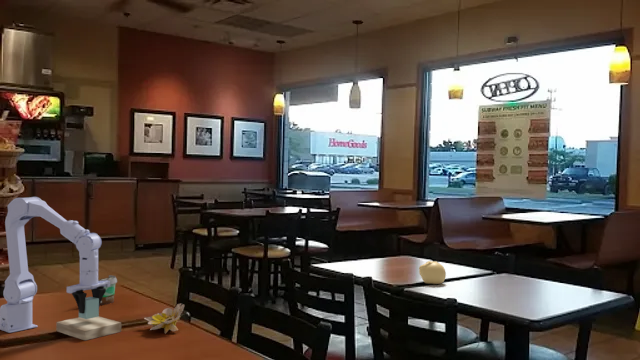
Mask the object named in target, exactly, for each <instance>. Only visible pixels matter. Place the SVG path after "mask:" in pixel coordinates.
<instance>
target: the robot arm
mask: <svg viewBox="0 0 640 360" xmlns="http://www.w3.org/2000/svg"><path fill="white" fill-rule="evenodd" d="M35 217H41V219H44V220H45V221H46V222H48V223H50V224H52V225H54V226H55V227H57V228H58V229H59V232H60V235H62V236H63V237H64V238H65V239H67V240H68V241H70V242H72V243H73V244H74V245H75V248H76V250H77V251H78V252H79V254H78V256H79V283H77V284H72V285H70V286H68V285H67V286H66V293H67V294H71V295H72V296H73V298H74V300H75V302H76V305H77V307H78V314H79V313H82V314H83V313H84V312H85V299H86V298H87V293H86V292H85V291H88V290H89V291H90V290H91V295H92V296H91V297H95V298H99V307H100V306H101V305H100V303H101V300H102V297H103V295H104V294H105V292H106V289H105V288H104V287H110V281H108V280H106V281H98V280H99V249H100V248H101V246H102V243H103V242H102V238H101V236H100V235H98V233H96V232H91V231H90V229H85V228H84V227H83V226H81V225H80V224H79V221H78V220H73V219H72V220H71V219H69V220H67V219H66V218H64V217H63V216H62V215H60V214H59V213H58V212H57V211H55V210H54V209H53V208H52V207H50V206H49V205H48V204H47V202H46V201H45V200H42V199H41V198H40V197H38V196H31V197H30V196H29V197H16V198H14V199H12V200H11V201H10V202H9V203H8V204H7V214H6V217H5V221H4V225H5V235H6V245H7V246H6V247H7V256H8V264H9V265H8V267H9V275H8V276H7V278H6V279H5V281H4V289H3V297H4V299H5V301H6V302H7V303H4V304H2V305H0V330H1V331H4V332H6V333H16V332H20V331H26V330H29V329H34V328H38V327H39V326H38V325H37V324H35V323H33V300H34V297H35V295H36V294H37V293H38V285H37V283H36V281H35V278H34V275H33V274H32V273H31V272H30V271H29V266H28V265H29V264H28V263H29V262H28V255H27V246H26V245H27V244H26V235H25V234H26V233H25V225H26V224H27V223H28V222H29V221H30V220H31V219H32V218H35Z"/></svg>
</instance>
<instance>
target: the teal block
mask: <svg viewBox="0 0 640 360" xmlns="http://www.w3.org/2000/svg"><path fill="white" fill-rule="evenodd" d="M99 313H100V306H99V298H95V297H93V296H88V297H87V296H86V299H85V312H84V313H83V314H82V313H79V312H78V318H79V317H80V318H84V319H90V318H94V317H100V314H99Z"/></svg>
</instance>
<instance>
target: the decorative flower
mask: <svg viewBox="0 0 640 360" xmlns="http://www.w3.org/2000/svg"><path fill="white" fill-rule="evenodd" d="M184 309H185V304H183V303H177V304H176V306H175V307H174V309H173V308H171V307H166V308H164V309H163V310H162V312H157V313H155V314H153V315H152V316H148V317H144V320H146V321H148V322H147V324H148V325H150V326H151V328H150V330H149V331H152V330H153V331H155V330H158V329H164V331H163V332H164V334H167V333H168V331H172V332H176V331H179V329H178V327H177V326H176V325H177V322H178V320H180V318H181V314H182V313H183V311H184Z"/></svg>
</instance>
